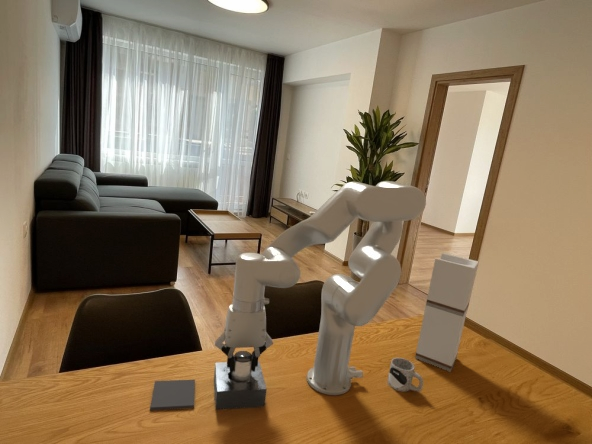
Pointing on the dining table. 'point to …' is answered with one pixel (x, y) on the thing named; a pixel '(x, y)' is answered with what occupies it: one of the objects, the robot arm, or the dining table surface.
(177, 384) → the rubber pad
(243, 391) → the housing
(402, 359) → the mug
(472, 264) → the white mini fridge
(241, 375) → the silver metal cylinder
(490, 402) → the dining table surface
